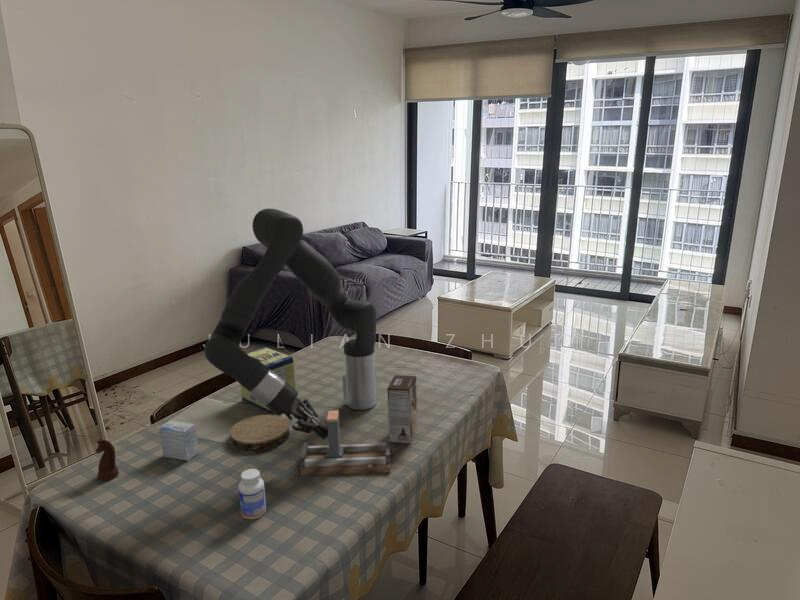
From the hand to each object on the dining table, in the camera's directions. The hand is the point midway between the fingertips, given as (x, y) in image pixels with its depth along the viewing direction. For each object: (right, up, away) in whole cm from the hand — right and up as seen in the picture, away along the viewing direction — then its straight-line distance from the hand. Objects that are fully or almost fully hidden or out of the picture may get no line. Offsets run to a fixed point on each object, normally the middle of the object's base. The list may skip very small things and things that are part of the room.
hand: (327, 435), depth 139 cm
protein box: (-23, +1, +37) cm, 44 cm away
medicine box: (-39, -7, +7) cm, 41 cm away
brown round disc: (-21, -5, +16) cm, 26 cm away
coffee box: (+19, -4, +15) cm, 25 cm away
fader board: (+5, -7, +2) cm, 9 cm away
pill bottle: (-14, -13, -16) cm, 25 cm away
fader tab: (+2, -6, +2) cm, 6 cm away
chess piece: (-54, -10, -2) cm, 55 cm away
